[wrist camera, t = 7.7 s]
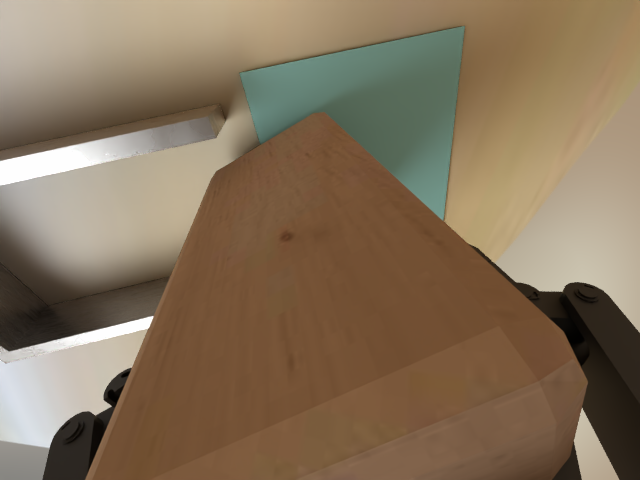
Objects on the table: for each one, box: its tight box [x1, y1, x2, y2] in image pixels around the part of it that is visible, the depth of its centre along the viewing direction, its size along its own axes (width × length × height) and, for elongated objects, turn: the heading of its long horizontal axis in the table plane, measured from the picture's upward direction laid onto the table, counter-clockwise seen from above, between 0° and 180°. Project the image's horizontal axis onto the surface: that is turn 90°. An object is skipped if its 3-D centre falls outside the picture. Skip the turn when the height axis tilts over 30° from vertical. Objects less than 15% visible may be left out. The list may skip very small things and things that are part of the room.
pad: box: [239, 26, 465, 220], centre depth 24 cm, size 18×16×1 cm
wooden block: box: [85, 112, 588, 480], centre depth 15 cm, size 10×10×20 cm
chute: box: [0, 104, 225, 363], centre depth 21 cm, size 15×23×5 cm, turn 100°
